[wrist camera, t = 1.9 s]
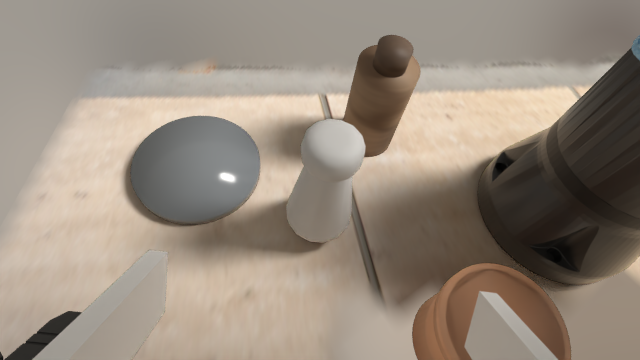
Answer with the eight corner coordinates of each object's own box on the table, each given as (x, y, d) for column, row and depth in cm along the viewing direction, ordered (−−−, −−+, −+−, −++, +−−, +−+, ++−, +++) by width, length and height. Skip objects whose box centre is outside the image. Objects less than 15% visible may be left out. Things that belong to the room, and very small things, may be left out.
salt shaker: (274, 213, 34) (272, 124, 23) (322, 185, 36) (343, 92, 25) (308, 263, 32) (325, 191, 21) (358, 230, 34) (397, 150, 23)
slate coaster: (249, 115, 40) (249, 109, 39) (270, 211, 34) (270, 206, 33) (133, 130, 37) (130, 124, 36) (134, 236, 32) (130, 231, 31)
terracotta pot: (480, 278, 33) (525, 251, 27) (532, 385, 29) (598, 381, 23) (392, 301, 31) (419, 277, 25) (433, 419, 27) (478, 425, 21)
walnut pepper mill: (380, 113, 42) (413, 23, 32) (397, 152, 39) (439, 66, 29) (334, 120, 41) (354, 27, 31) (348, 160, 38) (375, 73, 28)
